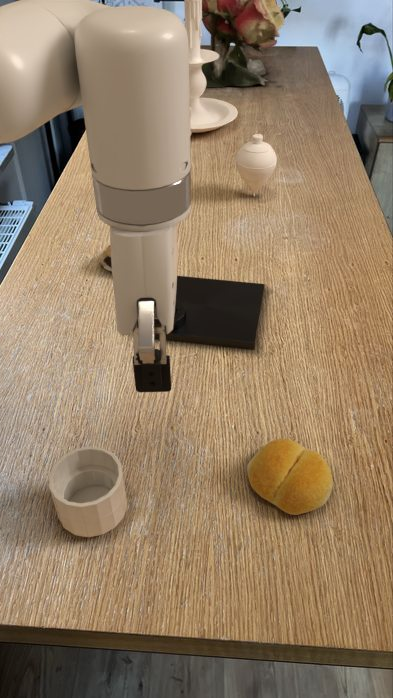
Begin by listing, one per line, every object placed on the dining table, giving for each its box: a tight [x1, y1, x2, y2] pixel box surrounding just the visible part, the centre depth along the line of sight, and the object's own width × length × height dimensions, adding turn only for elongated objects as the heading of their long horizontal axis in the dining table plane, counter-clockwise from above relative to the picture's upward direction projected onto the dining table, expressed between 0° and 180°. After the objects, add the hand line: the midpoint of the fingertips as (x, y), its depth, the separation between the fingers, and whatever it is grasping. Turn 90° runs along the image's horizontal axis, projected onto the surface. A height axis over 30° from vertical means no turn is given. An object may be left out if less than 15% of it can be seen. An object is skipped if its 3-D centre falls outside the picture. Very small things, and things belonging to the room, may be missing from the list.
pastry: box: [99, 244, 112, 273], centre depth 96 cm, size 9×7×4 cm
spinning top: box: [235, 133, 278, 197], centre depth 110 cm, size 8×8×12 cm
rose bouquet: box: [183, 0, 285, 88], centre depth 162 cm, size 26×29×30 cm
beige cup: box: [48, 445, 128, 538], centre depth 60 cm, size 7×7×6 cm
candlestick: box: [183, 0, 239, 137], centre depth 131 cm, size 21×25×28 cm
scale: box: [155, 275, 266, 351], centre depth 86 cm, size 16×14×3 cm
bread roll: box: [246, 438, 334, 516], centre depth 63 cm, size 8×9×4 cm
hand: (155, 353), depth 57 cm, fingers open, 9 cm apart
